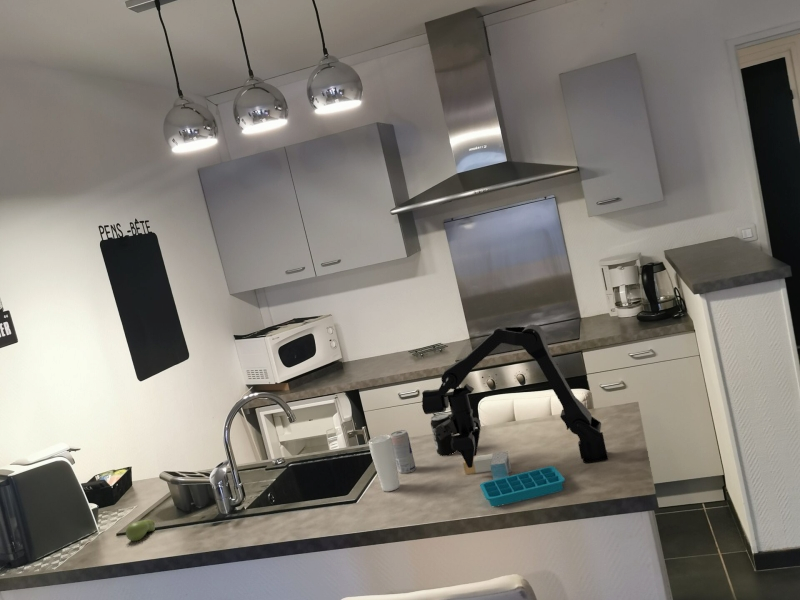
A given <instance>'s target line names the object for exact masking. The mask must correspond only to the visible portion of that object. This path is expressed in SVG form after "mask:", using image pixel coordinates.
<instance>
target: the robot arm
mask: <svg viewBox="0 0 800 600" xmlns="http://www.w3.org/2000/svg"><path fill="white" fill-rule="evenodd" d="M501 344H507V345H512V346H514V347H516V346H520V347H522V348H523V349H524V350H525V352H527V354H528V355H529V356H530V357H532V358H533V359H534V360H535V361H536V362H537V365H538V366H539V368H540V370H541V371H542V373H543V374H544V377H545V378H546V380H547V382H548V384H549V385H550V387H551V389H552V391H553V392H554V394H555V396H556V397H557V399H558V401H559V402H560V404H561V406H562V410H561V412H560V415H559V417H560V418H561V420H562V421H563V423H564V424H565V427H566V430H567V431H570V432H571V433H572V434H573V435H576V436H577V437H578V439H579V441H578V443H577V444H578V449H579V453H580V458H581V459H582V460H583V461H582V463H583V464H588V463H595V462H602V461H608V460H609V455H608V450H607V448H606V443H605V438H604V433H603V431H601V430H602V429H601V428H602V422H601V421H600V420H599V419H597V418H595V417H593V416H592V413H591V412H590V411H589V410H588V408H587V407H586V406H585V404H584V403H582V401H580V400H579V399H578V398H577V397H576V396H575V394H574V392H573V391H572V389H571V387H570V385H569V384H568V382H567V380H566V379H565V377H564V375H563V374H562V372H561V370H560V368H559V366H558V365H557V363H556V361H555V360H554V358H553V356H552V355H551V352H550V349H549V344H548V341H547V339H546V335H545V333H544V330H543V329H542V327H541V326H539V325H537V324H529V325H528V324H527V325H526V326H501V325H500V326H498V327H496V328H495V329H494V330H493V332H492V333H491V334H489V336H487V337H486V338H485V339H484V340H483V341H482V342H481V343H480V344H479V345H478V346H476V347H475V348H474V349H473V350H471V351H470V353H469V354H467V356H465V357H463V358H461V359H460V360H458V361H455V362H454V363H453V364H451V365H449V366H448V367H447V368H446V369H445V370H444V371H443V373H442V374H441V377H440V378H441V384H440V386H439V388H437V389H436V388H435V389H425V390H423V391H422V392H421V395H422V397H421V398H422V399H421V406H422V411H423V412H424V414H425V415H431V414H441V413H446V411H447V409H448V408H450V414H451V415H450V416H449V417H450V419H449V420H447V421H445V422H443V423H442V424H440V425H438V426H437V427H436V429H435V430H434V431H435V433H436V436H437V437H439V439H440V440H442V439H443V438H444V437H446V436H447V435H449V434H451V433H452V432H453V435H455V436H454V437H453V439H452V441H451V448H452V449H453V450H455V451H456V452H458V453H460V455H461V456H462V458H463V461H464V460H465V462H466V464H467V466H468V468H472V466H473V459H474V456H477V453H478V447H479V446H478V445H479V440H480V435H481V434H480V433H481V427H482V424H481V420H480V419H479V418H477V417H473V413H474V411H473V410H474V409H473V408H471V403H470V399H469V394H472V393H473V391H474V389H475V388H474V387H472V385H471V386H470V385H469V384H468V383H465V384H464V386H463V387H460V385H462V383H463V382H464V380H465V379H466V378H467V377H468V375H470V372H471V371H472V370H473V369H474V368H475V367H476V366H477V365H478V364H480V363H481V361H483V360H484V359H485V358H486V357H487V356H488V355H489V354H491V352H493V351H494V350H495V349H496V348H497V347H499V346H500V345H501ZM450 390H453V391H450Z"/></svg>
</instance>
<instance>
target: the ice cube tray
mask: <svg viewBox="0 0 800 600" xmlns="http://www.w3.org/2000/svg"><path fill="white" fill-rule="evenodd" d="M565 480H566V479H565V477H564V476H563V475H562V474H561V473H560V471H559V470H558V469H557V468H556V467H555V466H552V465H551V466H550V465H549V466H546V467H542V468H537V469H534V470H529V471H525V472H520V473H516V474H513V475H509V476H508V477H504V478H500V479H495V480H493V479H492V480H487V481H484V482H481V483H480V484H479V487H480V490H481V492H482V494H483V495H484V498H485V500H489V501H488V502H490V503H489V505H490V507H491V506H498V505H502V504H506V505H508V504H507V503H510V504H513V503H512V502H514V503H517V502H516V501H518V502H521V500H522V501H525V499H526V500H530V499H534V498H538V497H542V496H547V495H550V494H553V493H554V494H555V493H559V492H561V491H563V488H564V487H563V483H564V482H565ZM502 506H503V505H502ZM498 507H499V506H498Z"/></svg>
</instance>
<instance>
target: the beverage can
mask: <svg viewBox="0 0 800 600" xmlns="http://www.w3.org/2000/svg"><path fill="white" fill-rule="evenodd" d="M450 417H451V416H449V414H448V413H437V414H435V415H433V416H431V417H430V420H431V421H430V426H431V431H432V435H433V436H432V437H433V440H434V445H435V449H436V453H437V454H438V455H439V456H441V455H442V457H444V456H443V455H447V456H450V455H449V454H451V455H453V454H452V453H454V452H455V453H456V452H457V451H455V450H453V449H452V448H451V441H452V439H453V437H454V436H455V435H456V434H455V435H453V432H452V433H451V434H449V435H447V436H446V437H444V438H443V439H442V440H440V439H439V437H437V436H436V433H435V431H434V430H435V429H436V427H437V426H438V425H440V424H442V423H443V422H445V421H447V420H449V419H450ZM455 453H454V454H455Z"/></svg>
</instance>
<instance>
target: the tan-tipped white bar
mask: <svg viewBox="0 0 800 600" xmlns="http://www.w3.org/2000/svg"><path fill="white" fill-rule="evenodd" d="M492 456H493V453H489V454H483V455H476V456H474V459H473V466H472V468H468V466H467V464H466V462H465V460H464V459H463V464H462V465H463V469H464V473H465V475H471V474H472V475H473V474H479V473H485V472H492V471H491V467H490V464H491V460H492Z"/></svg>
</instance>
